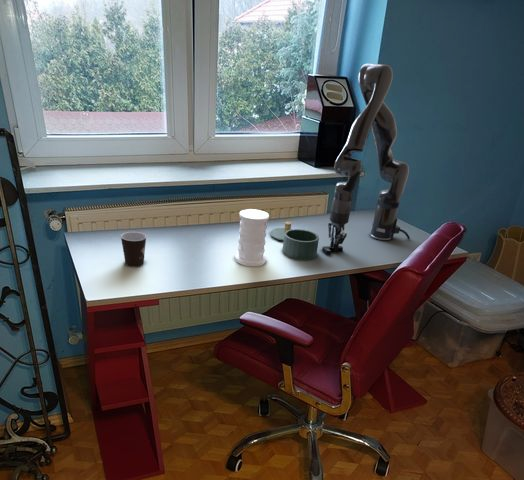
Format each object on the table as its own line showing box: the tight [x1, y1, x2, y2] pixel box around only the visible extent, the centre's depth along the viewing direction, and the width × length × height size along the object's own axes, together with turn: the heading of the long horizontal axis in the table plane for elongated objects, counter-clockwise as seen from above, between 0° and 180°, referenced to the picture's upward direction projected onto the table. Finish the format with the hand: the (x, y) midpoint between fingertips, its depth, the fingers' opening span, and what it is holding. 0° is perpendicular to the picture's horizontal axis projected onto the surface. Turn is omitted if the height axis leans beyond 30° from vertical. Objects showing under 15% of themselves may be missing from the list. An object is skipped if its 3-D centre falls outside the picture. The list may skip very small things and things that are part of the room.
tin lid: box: [269, 221, 293, 242], centre depth 225 cm, size 15×15×6 cm
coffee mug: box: [120, 231, 147, 268], centre depth 189 cm, size 12×9×10 cm
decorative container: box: [234, 208, 270, 267], centre depth 197 cm, size 12×12×18 cm
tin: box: [282, 228, 320, 261], centre depth 211 cm, size 14×14×8 cm
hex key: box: [321, 245, 344, 256], centre depth 216 cm, size 8×5×2 cm, turn 107°
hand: (333, 250), depth 218 cm, fingers closed on hex key, 2 cm apart
